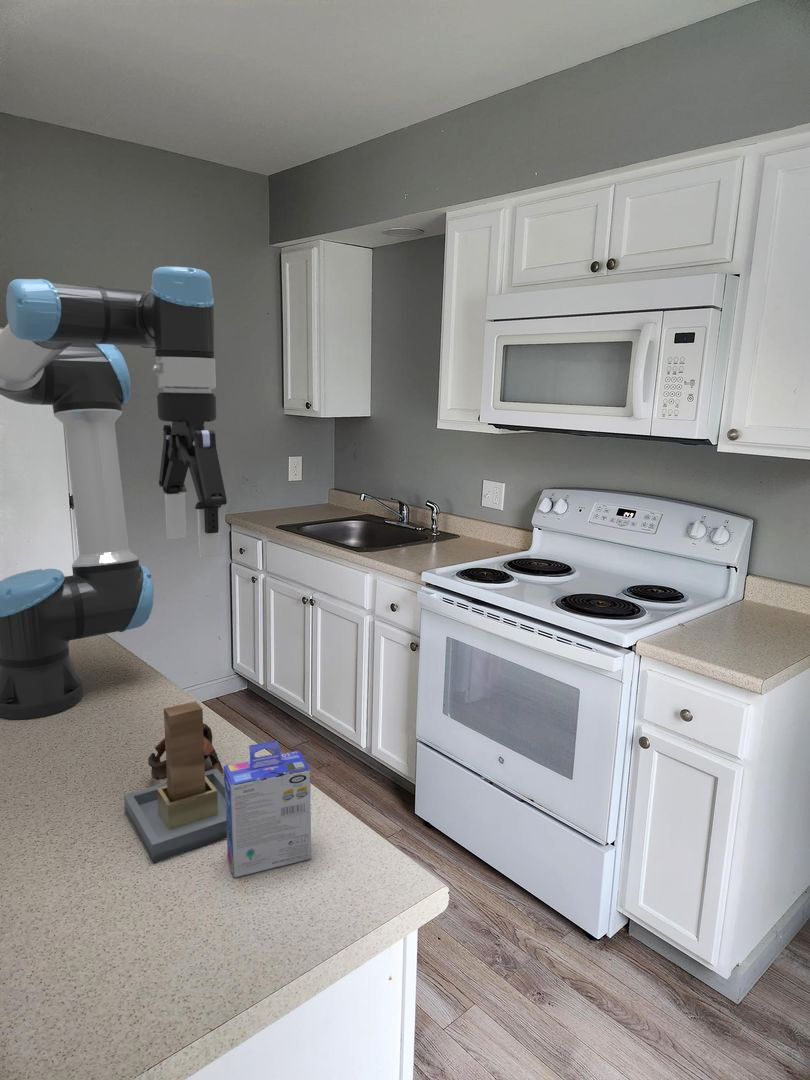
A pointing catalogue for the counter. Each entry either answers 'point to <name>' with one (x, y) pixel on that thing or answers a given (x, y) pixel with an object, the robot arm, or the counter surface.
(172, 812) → the tan hollow wooden box
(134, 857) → the counter surface
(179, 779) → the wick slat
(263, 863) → the ink cartridge box
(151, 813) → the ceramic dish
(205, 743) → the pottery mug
